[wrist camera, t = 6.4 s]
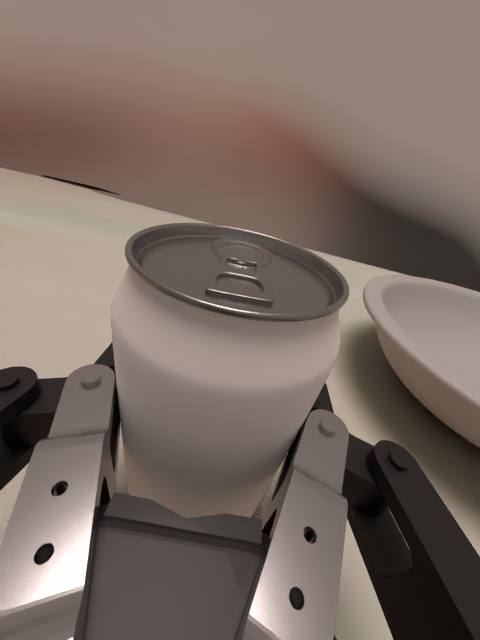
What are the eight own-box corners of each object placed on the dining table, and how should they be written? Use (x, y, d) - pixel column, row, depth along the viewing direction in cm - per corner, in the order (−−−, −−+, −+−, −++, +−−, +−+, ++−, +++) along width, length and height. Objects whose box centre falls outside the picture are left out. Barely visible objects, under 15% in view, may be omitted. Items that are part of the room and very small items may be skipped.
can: (256, 428, 16) (327, 243, 10) (260, 567, 11) (431, 360, 4) (153, 414, 16) (155, 207, 9) (103, 552, 10) (17, 287, 4)
